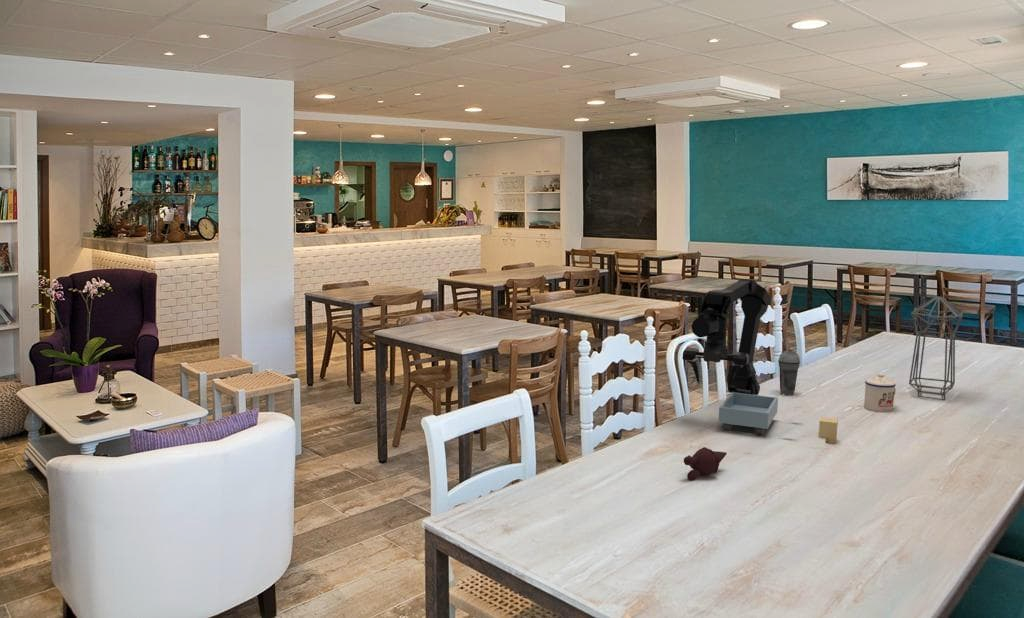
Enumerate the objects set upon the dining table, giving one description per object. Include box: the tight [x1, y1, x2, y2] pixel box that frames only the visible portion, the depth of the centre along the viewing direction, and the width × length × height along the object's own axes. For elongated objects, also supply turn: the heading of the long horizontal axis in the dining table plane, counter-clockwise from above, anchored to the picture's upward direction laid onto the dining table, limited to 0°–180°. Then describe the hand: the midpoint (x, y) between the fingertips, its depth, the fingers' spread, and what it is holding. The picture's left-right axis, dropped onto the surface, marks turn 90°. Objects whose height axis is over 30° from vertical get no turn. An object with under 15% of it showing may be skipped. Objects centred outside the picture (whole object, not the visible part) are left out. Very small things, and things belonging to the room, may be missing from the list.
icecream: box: [683, 446, 728, 481], centre depth 197 cm, size 7×7×15 cm
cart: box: [718, 391, 779, 437], centre depth 234 cm, size 14×20×7 cm
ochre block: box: [818, 416, 839, 444], centre depth 225 cm, size 4×4×6 cm
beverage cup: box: [777, 337, 801, 396], centre depth 276 cm, size 7×7×20 cm
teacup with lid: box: [863, 372, 897, 413], centre depth 259 cm, size 12×9×12 cm
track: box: [724, 419, 806, 442], centre depth 233 cm, size 20×22×1 cm
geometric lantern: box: [908, 296, 964, 401], centre depth 273 cm, size 16×16×35 cm
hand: (714, 384), depth 238 cm, fingers open, 9 cm apart
